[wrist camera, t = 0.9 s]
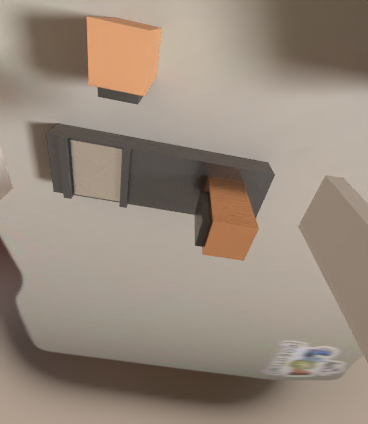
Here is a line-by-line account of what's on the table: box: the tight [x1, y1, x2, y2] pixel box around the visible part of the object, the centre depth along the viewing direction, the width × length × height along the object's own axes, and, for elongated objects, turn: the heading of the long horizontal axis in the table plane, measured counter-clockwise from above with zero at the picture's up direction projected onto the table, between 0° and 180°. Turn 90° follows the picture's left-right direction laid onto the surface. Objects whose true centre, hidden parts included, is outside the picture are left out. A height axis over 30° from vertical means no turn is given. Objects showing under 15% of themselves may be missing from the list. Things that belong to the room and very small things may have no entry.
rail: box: [46, 124, 275, 261], centre depth 27 cm, size 7×24×11 cm, turn 79°
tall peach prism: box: [87, 16, 162, 104], centre depth 21 cm, size 4×5×8 cm
